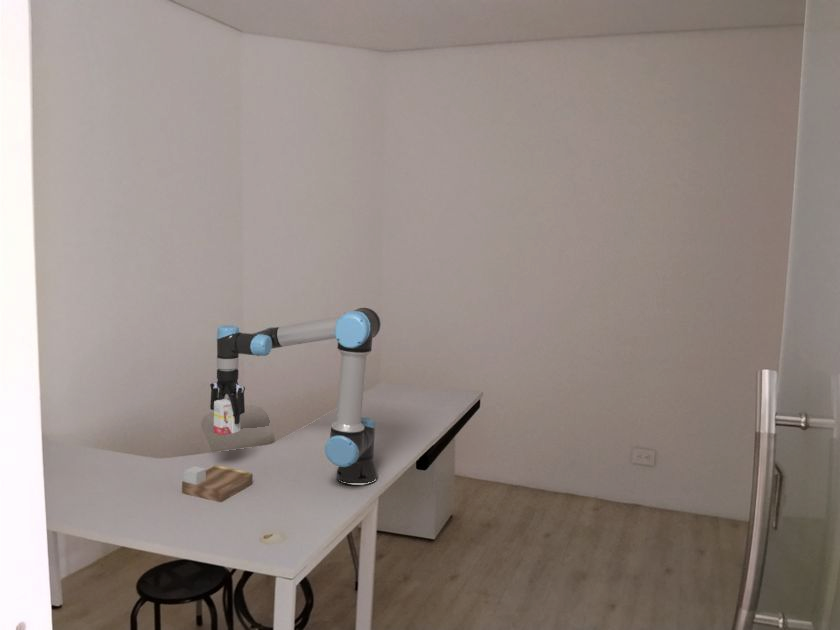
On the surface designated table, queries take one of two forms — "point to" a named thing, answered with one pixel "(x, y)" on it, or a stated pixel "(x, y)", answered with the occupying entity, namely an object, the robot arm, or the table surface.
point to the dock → (219, 484)
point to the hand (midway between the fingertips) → (227, 430)
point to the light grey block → (195, 475)
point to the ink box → (223, 417)
